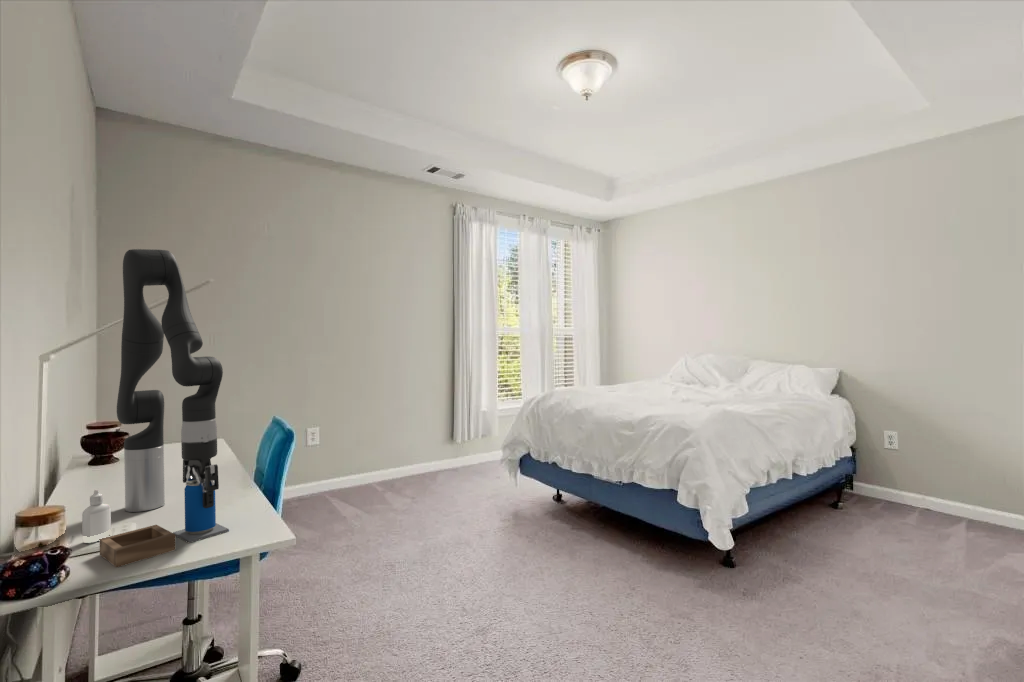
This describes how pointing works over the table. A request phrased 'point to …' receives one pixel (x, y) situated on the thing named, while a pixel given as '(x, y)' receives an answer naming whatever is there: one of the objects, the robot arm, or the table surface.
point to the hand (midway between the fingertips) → (200, 504)
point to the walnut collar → (137, 545)
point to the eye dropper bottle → (96, 516)
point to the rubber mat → (194, 537)
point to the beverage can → (197, 510)
